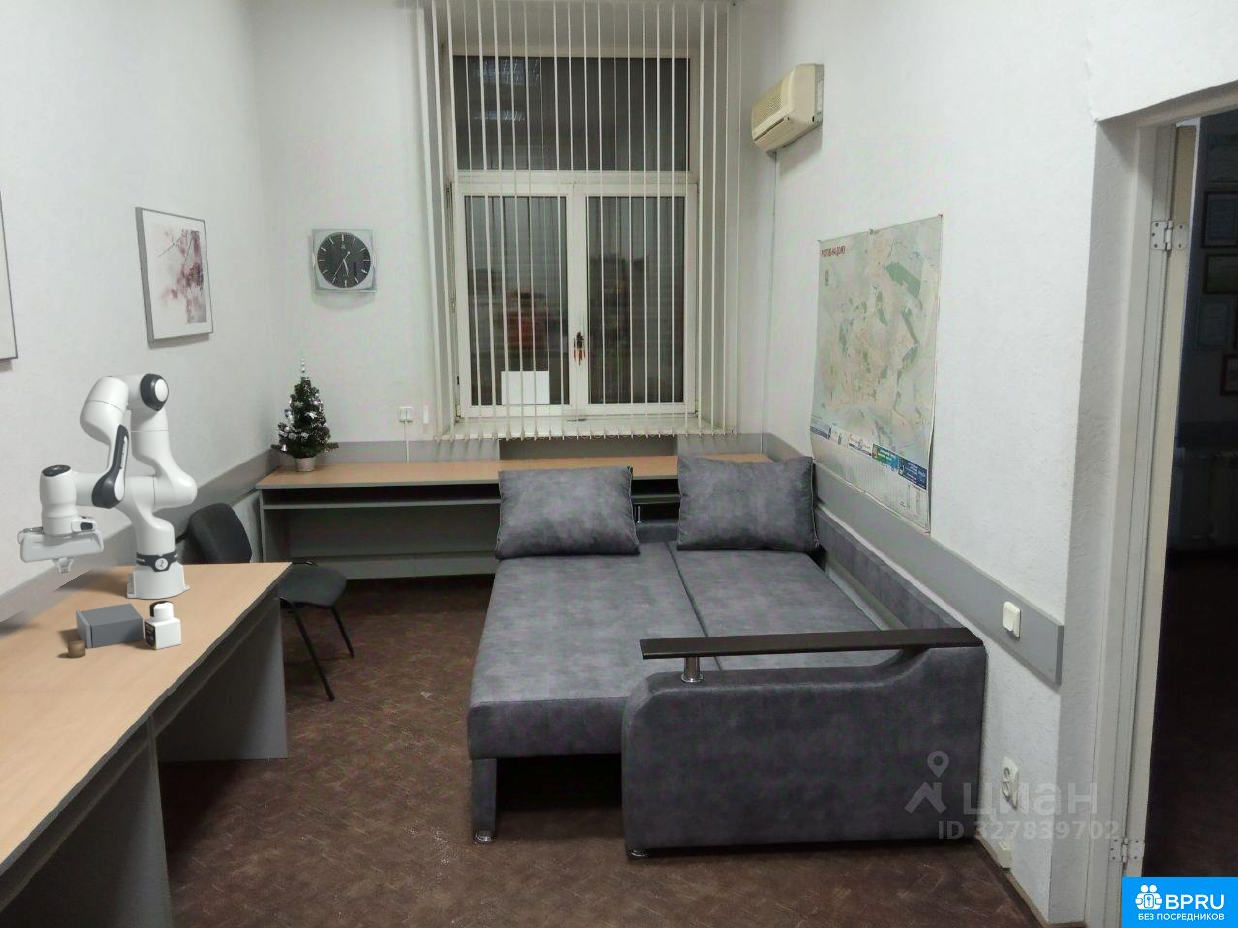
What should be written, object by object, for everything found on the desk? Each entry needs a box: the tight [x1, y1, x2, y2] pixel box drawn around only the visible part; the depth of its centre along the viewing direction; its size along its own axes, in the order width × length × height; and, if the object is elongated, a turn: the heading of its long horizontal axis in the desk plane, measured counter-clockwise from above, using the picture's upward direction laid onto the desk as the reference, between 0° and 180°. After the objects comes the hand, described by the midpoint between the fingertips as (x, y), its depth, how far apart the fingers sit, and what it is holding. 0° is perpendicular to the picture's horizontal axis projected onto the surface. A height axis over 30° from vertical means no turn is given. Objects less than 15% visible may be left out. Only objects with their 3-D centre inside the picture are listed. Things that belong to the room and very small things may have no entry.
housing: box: [80, 603, 145, 649], centre depth 283 cm, size 16×13×6 cm
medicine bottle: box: [143, 600, 182, 651], centre depth 277 cm, size 7×7×12 cm
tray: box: [75, 609, 93, 649], centre depth 282 cm, size 16×13×6 cm
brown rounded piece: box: [67, 640, 86, 659], centre depth 267 cm, size 4×4×4 cm
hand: (64, 572), depth 277 cm, fingers closed
